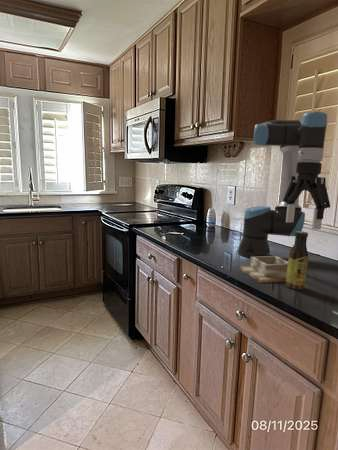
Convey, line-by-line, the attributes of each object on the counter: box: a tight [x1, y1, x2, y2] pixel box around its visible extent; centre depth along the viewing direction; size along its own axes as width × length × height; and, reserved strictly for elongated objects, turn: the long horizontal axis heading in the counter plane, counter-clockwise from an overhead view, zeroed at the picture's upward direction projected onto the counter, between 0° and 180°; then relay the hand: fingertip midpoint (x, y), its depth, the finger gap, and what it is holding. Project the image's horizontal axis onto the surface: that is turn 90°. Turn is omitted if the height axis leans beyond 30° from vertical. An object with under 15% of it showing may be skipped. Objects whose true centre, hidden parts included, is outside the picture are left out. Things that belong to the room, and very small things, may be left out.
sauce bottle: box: [285, 230, 310, 290], centre depth 110 cm, size 7×6×20 cm
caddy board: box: [239, 255, 288, 284], centre depth 124 cm, size 16×18×6 cm
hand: (302, 225), depth 107 cm, fingers open, 13 cm apart
